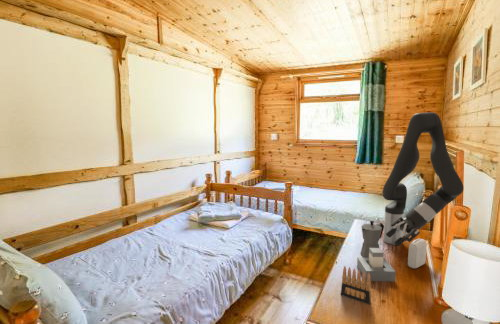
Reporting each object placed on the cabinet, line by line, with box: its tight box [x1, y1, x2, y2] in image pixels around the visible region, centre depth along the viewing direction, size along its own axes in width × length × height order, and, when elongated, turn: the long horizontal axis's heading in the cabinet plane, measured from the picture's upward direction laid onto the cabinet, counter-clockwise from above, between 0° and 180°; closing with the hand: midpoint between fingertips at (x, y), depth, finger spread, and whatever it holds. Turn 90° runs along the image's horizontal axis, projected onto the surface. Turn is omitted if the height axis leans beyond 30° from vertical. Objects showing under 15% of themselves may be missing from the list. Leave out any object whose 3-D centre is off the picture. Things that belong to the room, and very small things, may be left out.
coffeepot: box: [360, 220, 384, 258], centre depth 141 cm, size 15×9×18 cm, turn 118°
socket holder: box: [356, 256, 396, 283], centre depth 124 cm, size 12×12×4 cm
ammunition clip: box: [340, 265, 372, 305], centre depth 107 cm, size 11×2×12 cm, turn 55°
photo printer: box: [407, 238, 428, 269], centre depth 131 cm, size 10×4×12 cm, turn 123°
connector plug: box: [369, 247, 385, 268], centre depth 124 cm, size 4×4×10 cm
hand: (391, 240), depth 122 cm, fingers open, 8 cm apart
